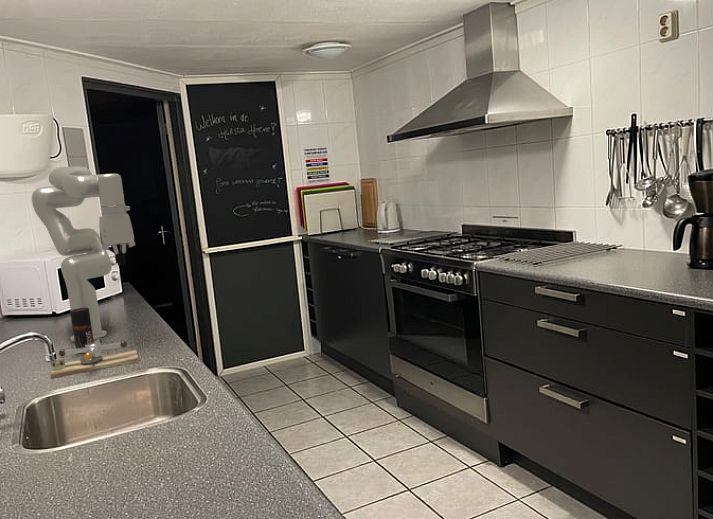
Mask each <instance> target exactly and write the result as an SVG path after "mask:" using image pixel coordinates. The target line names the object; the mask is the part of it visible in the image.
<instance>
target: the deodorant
mask: <svg viewBox="0 0 713 519" xmlns="http://www.w3.org/2000/svg"><path fill="white" fill-rule="evenodd" d="M69 313H70V314H69V315H70V320H71V327H72V334H73V335H74V340H75V342H74V346H75V347H74V348H82V347H85V345H86V344H88V343H92V342H95V340H94V339H93V333H92V326H91V320H90V313H89V308H78V309H73V310H71V309H70V311H69ZM78 354H83V355H85V354H86V352H85V353H78ZM78 354H77V355H78Z"/></svg>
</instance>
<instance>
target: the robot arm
mask: <svg viewBox="0 0 713 519" xmlns="http://www.w3.org/2000/svg"><path fill="white" fill-rule="evenodd" d="M48 182H49V183H50V185H48V186H43V187H39V188H36V189H34V190H33V192H32V194H31V203H32V208H33V210H34V212H35V215H36V216H37V218H38V219H39V220H40V221H41V223H42V224H43V225H44V226H45V228H46V231H48V234H49V236H50V239H51V242H52V243H53V245H54V247H55V249H56V251H57V253H58V254H59V255H61V256H63V257H64V256H65V258H64V259H63V260H62V261H61V264H60V270H61V273H62V276H63V279H64V282H65V285H66V289H67V295H68V296H67V297H68V302H69V308H70V311H71V310H73V309H78V308H89V313H90V320H91V326H92V333H93V339H94V341H95V340H96V339H97V338H101V339H102V338H103V337H105V336H106V335H107V333H108V332H107V331H106V330H103V329H102V324H101V315H100V309H99V303H98V297H97V296H98V295H97V291H96V288H95V286H93V284H92V283H90V282H89V280H90V279H93V278H100V277H104V276H107V275H109V274H110V273H111V271H112V266H113V265H112V260H111V257H110V256H109V254H108V252H107V251H110V252H111V253H113V254H114V259H115V260H114V261H115V263H116V264H117V266H125V265H126V262H127V259H126V253H127V251H128V249H129V248H132V247H134V246H136V242H135V236H134V230H133V225H132V221H131V218H130V215H129V213H127V211H130V210H131V207H130V206H129V205H126V203H125V197H124V196H125V194H124V189H123V182H122V177H121V175H120V174H118V173H103V174H92V172H91V171H90V169H89V168H88V167H86V166H83V165H82V166H80V165H78V166H76V165H75V166H74V165H73V166H60V167H56V168H54V169H52V170H51V171H50V173H49V175H48ZM88 198H89V199H90V198H99V203H100V211H101V216H99V222H98V224H99V225H98V226H99V233H98V232H97V231H96V230H95V229H93V228H88V227H87V228H77V229H76V228H75V227H74V226H73V225H72V222H71V220H70V219H69V217H68V216H66V215H65V214H64V213H62V212H61V211H59V210H57V209H64V208H72V207H78V206H80V205H82V204H83V203H84V201H85V199H88ZM119 245H120V246H119ZM118 246H119V247H120V249H118ZM70 341H71V342H74V343H75V340H74V334H73V335H71V336H70Z"/></svg>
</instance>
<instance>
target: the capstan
mask: <svg viewBox="0 0 713 519" xmlns="http://www.w3.org/2000/svg"><path fill="white" fill-rule="evenodd" d="M127 342H128V341H125V340H122V341H120V342H119V341H117V342H114V343H113V342H112V343H105V344H102V343H103V339H102V337H101V338H97V339H95V340H94V342H92V343H88V344H86V345H85V347H82V348H76V347H74V348H69V349H62V348H61V349H59V351H58V355H59V356H60V357H65V356H69V355H75V354H76V355H78V353H85V352H86V354H83V356H82V357H81V358H80V361H81V363H83V364H88V363H94V362H98V361H101V360H103V357H102V356H103V352H102V351H104V350H113V349H119V348H122V349H124V348H126V347H127V346H128V343H127Z"/></svg>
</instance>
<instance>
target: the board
mask: <svg viewBox="0 0 713 519" xmlns="http://www.w3.org/2000/svg"><path fill="white" fill-rule="evenodd" d="M102 357H103V360H101V361H98V362H94V363H88V364H83V363H81V361H80V360H73V361H68V362H66V361H65V356H60V357H56V358H57V359H56V361H53V362H51V361H50V366H51V369H50V370H51V373H50V379H55V378H60V377H67V376H72V375H77V374H82V373H87V372H93V371H99V370H104V369H108V368H113V367H114V368H115V367H119V366H124V364H125V365H130V364H134V363H139V362H140V360H139V359H140V358H139V356H138V353H137V349H134V350H128V351H124V352H123V351H122V352H116V353H112V354H107V355H102Z"/></svg>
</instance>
